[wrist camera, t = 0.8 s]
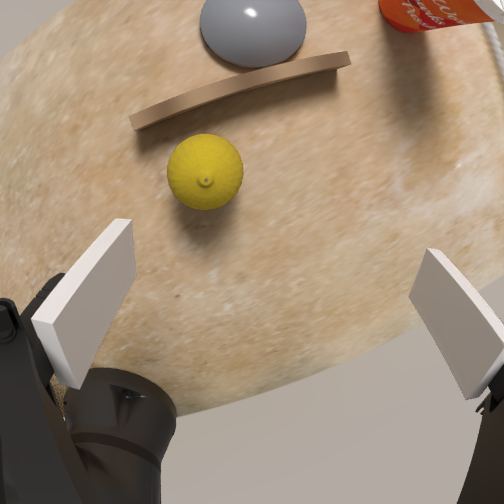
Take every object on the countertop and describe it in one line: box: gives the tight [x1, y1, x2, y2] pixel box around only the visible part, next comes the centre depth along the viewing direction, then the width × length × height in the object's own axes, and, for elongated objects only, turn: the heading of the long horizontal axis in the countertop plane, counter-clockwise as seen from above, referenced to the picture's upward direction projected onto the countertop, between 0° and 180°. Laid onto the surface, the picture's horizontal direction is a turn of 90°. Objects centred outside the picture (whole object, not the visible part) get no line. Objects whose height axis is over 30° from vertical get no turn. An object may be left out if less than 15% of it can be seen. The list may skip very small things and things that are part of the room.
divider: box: [129, 51, 351, 131], centre depth 22 cm, size 18×1×3 cm, turn 108°
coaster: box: [200, 0, 306, 68], centre depth 21 cm, size 9×9×1 cm
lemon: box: [167, 134, 243, 210], centre depth 22 cm, size 6×6×8 cm
